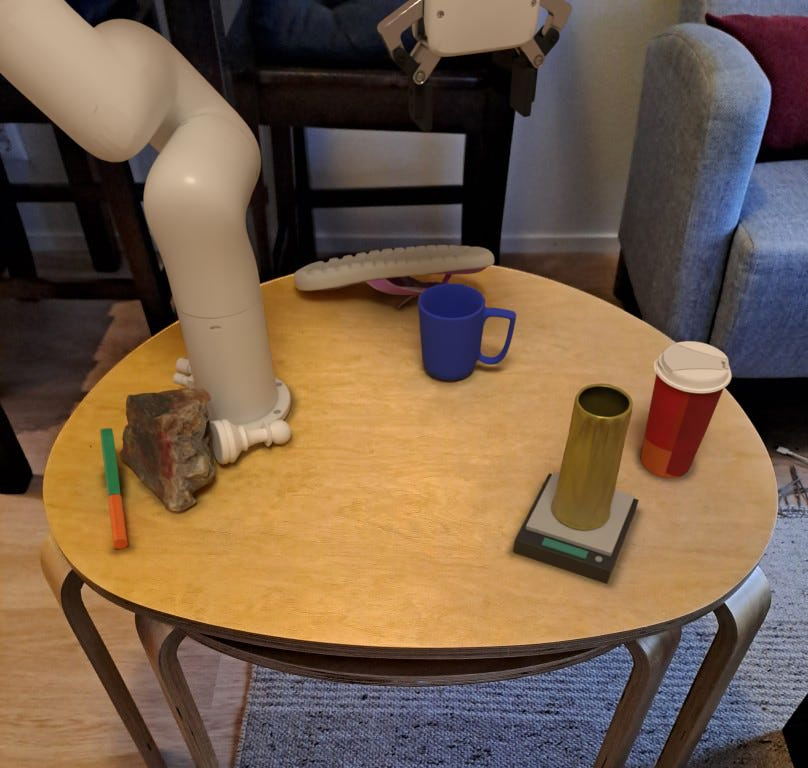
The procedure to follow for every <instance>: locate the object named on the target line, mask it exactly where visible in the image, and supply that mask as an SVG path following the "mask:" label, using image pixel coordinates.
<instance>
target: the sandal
mask: <svg viewBox="0 0 808 768" xmlns="http://www.w3.org/2000/svg"><path fill="white" fill-rule="evenodd" d="M494 264H495V256H494V254H493V253H492V251H490V250H489V249H487V248H485V247H481V246H470V245H460V246H459V245H455V244H449V245H447V244H437V245H435V244H432V245H431V244H429V245H426V246H425V245H417V246H416V247H415V246H407V247H405V248H404V247H395V248H394V250H393V249H392V248H383V249H382V250H381V251H380V250H379V249H374V250H370V251H369V253H366V252H365V251H364V252H358V253H356V254H355V256H353V255H352V254H348V255H343V257H342V258H338V257H332V258H329V260H328V261H326V262H324V261H323V260H320V261H319V260H318V261H315V262H312V263H309V264H307V265H305V266H303V267H301V268H299V269H298V270H296V271H295V272H294V274H293V282H294V284H295V287H296V289H297V290H298V291H303V292H312V291H333V290H338V289H342V288H347V287H351V286H354V285H358V284H368V285H369V286H370V287H372V288H373V289H375V290H376V291H379V292H382V293H385V294H389V295H394V296H395V295H398V296H408V297H407V298H406V299H405V300H403V301H402V302H400V303H399V304H398V308H401V307H403V306H404V305H405V304H406V303H408V302H409V301H410V300H411V299H413V298H415V297H417V296H420V295H421V293H422V292H423V291H425V290H426V289H428V288H430V287H432V286H435V285H439V284H447V283H449V282H450V280H451V278H452V275H473V274H478V273H481V272H483V271H485V270H486V269H487V268H489V267H492V266H493V265H494ZM421 275H444V276H443V278H442V280H441V281H427V282H425V281H424V282H423V281H421V280H418V279H416V278H414V277H413V276H421Z"/></svg>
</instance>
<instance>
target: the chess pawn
mask: <svg viewBox="0 0 808 768" xmlns="http://www.w3.org/2000/svg"><path fill="white" fill-rule="evenodd" d="M210 427H211V431H212V434H211V437H210V438H209V440H210V445H211V448H212V453H213V455H214V458H215V460H216V462H217V463H218V464H220V465H227V464H228V463H233V464H234V463H235V462H236V460H237V459H238V457H239V456H240V455H241V453H242V451H243V452H247V451H248V450H249V447H252V446H253V445H256V444H260V443H263V442H264V445H265V446H266V447H270V446H271V445H272V444H273V443H274V444H276V445H284V444H286V443H288V441H290V439H291V437H292V428H291V426H290V425H289V423H288V422H286V421H285V420H276V421H274V422H272V423H271V424H270V425H268V424H267V423H265V422H263V423H262V427H261V429H245V428H244V427H243V426H239V427H236V426H234V425H233V424H232V423H230V422H229V421H228V420H226V419H223V420H221V421H219V420H216V421H212V422H211V424H210Z"/></svg>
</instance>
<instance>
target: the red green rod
mask: <svg viewBox="0 0 808 768" xmlns="http://www.w3.org/2000/svg"><path fill="white" fill-rule="evenodd" d="M99 433H100V442H101V452H102V459H103V468H104V474H105V482H106V489H107V496H108V497H107V498H108V499H107V500H108V501H107V502H108V508H109V515H110V526H111V534H112V544H113V548H114V549H117V550H121V549H125V548H127V547H128V536H127V528H126V520H125V511H124V503H123V497H122V495H121V485H120V477H119V470H118V461H117V453H116V445H115V444H116V443H115V438H114V432H113V428H111V427H106V428H101V429H100V430H99Z"/></svg>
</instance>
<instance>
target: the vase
mask: <svg viewBox="0 0 808 768" xmlns="http://www.w3.org/2000/svg"><path fill="white" fill-rule="evenodd" d="M633 406H634V403H633V399H632V397H631V395H630V394H629V393H627V391H625V390H624V389H622V388H620V387H618V386H615V385H612V384H610V383H609V384H608V383H593V384H588V385H586V386H584V387H582V388H581V389H579V391H578V392H577V393H576V395H575V398H574V402H573V408H572V412H571V417H570V423H569V429H568V435H567V438H566V439H567V440H566V443H565V447H564V452H563V456H562V460H561V465H560V471H559V473H560V476H559V480H558V484H557V489H556V493H555V496H554V498H553V501H552V505H551V507H552V512H553V514H554V516H555V517H556V518H557V519H558V520H559V521H560V522H561V523H562V524H564V525H566V526H568V527H570V528H573V529H578V530H592V529H596V528H598V527H601V526H602V525H604V524H605V523H606V522H607V520H608V519H609V518H610V514H611V503H612V499H613V496H614V491H615V490H616V486H617V482H618V478H619V477H618V476H619V471H620V468H621V462H622V457H623V452H624V447H625V443H626V439H627V433H628V429H629V426H630V422H631V419H632V418H631V417H632V413H633Z"/></svg>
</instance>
